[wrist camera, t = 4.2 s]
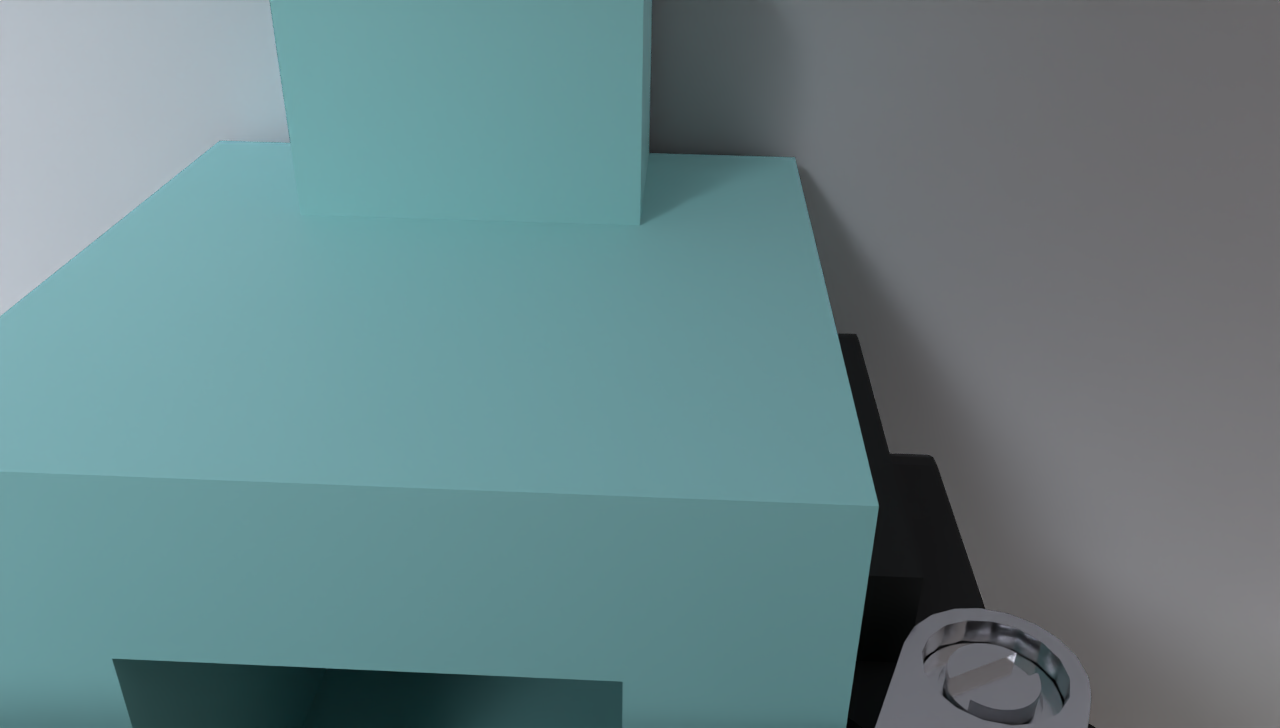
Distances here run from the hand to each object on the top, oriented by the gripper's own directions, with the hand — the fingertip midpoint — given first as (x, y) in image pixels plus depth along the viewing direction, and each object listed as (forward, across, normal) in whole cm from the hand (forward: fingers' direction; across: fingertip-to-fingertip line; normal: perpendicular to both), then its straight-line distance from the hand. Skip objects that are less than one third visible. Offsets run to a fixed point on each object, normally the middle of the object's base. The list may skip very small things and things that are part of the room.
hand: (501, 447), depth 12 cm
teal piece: (+1, 0, -2) cm, 2 cm away
